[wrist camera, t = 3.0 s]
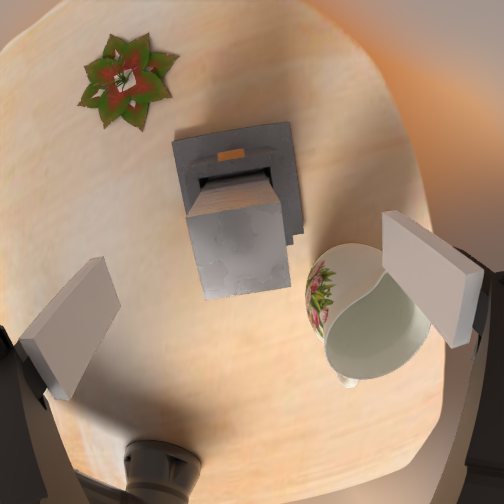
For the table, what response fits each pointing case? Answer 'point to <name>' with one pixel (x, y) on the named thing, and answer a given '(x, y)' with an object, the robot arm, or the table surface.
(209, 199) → the column
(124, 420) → the table surface
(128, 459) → the robot arm
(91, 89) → the lily flower
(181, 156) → the stand
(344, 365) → the pitcher
